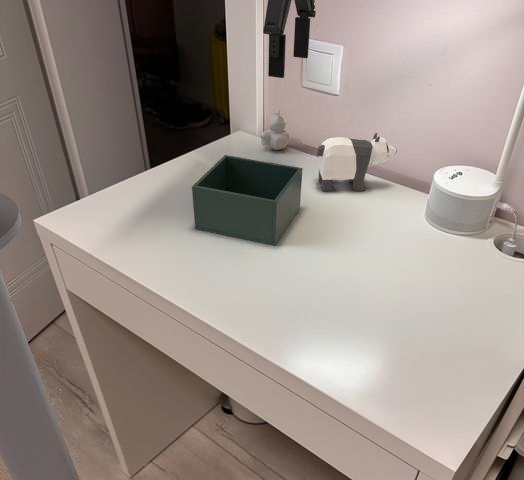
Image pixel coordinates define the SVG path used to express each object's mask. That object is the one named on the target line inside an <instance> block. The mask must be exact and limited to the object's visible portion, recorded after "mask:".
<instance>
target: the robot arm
mask: <svg viewBox="0 0 524 480" xmlns="http://www.w3.org/2000/svg"><path fill="white" fill-rule="evenodd" d="M292 1H294V7H295V10H296V14H297V16H295V18H294V33H293V34H294V35H293V56H292V57H293V58H299V59H308V58H309V50H310V49H309V48H310V47H309V46H310V33H311V32H310V31H311V18H315V17H316V14H317V13H316V10H314V9H316V4H315V5H314V3H316V0H267V3H266V4H267V5H266V11H265V19H264V25H263V28H262V29H263V31H262V33H263V34H264V35H268V68H267V69H268V70H267V71H268V72H267V74H268V75H267V76H268V77H270V78H271V77H272V78H278V79H284V78H285V70H286V69H285V68H286V46H287V45H286V43H287V34H285V30H286V26H287V20H288V17H289V12H290V9H291V4H292Z"/></svg>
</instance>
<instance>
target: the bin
mask: <svg viewBox="0 0 524 480" xmlns="http://www.w3.org/2000/svg"><path fill="white" fill-rule="evenodd" d="M303 170H304V169H303V167H299V166H292V165H287V164H280V163H275V162H270V161H263V160H258V159H252V158H246V157H241V156H240V157H239V156H235V155H234V156H233V155H227V154H224V155H223V156H222V157H221V158H220V159H219V160H218V161H217V162H216V163H215V164H214V165H213V166H211V167H210V169H209V170H207V171H206V172H204V174H203V175H202V176H201V177H200V178H199V179H197V181H196V182H195V183H193V185H191V193H192V194H191V195H192V207H193V219H194V220H193V221H194V229H195V230H200V231H204V232H209V233H214V234H218V235H222V236H227V237H232V238H233V237H234V238H238V239H243V240H246V241H251V242H257V243H261V244H266V245H272V246H276V245H277V244H278V242H279V241H280V239H281V238H282V236H283V235H284V233H286V230H287V229H288V228H289V226H290V224H291V223H292V221H293V220H294V218H295V217H296V216H297V214H298V213H299V211H300V209H301V199H302V198H301V197H302V185H303V184H302V182H303Z"/></svg>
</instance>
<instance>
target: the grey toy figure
mask: <svg viewBox="0 0 524 480" xmlns="http://www.w3.org/2000/svg"><path fill="white" fill-rule="evenodd" d="M286 125H287V122H285V120H284V117H283V116H281V115H280V110H278V111H277V112H275V113H274V114H273V115H272V116H271V118H270V119H269V124H268V128H269V129H267V130H266V131H261V132H260V133H259V137H260V139H261V140H260V145H262V146H268V147H269V148H270V149H272V150H274V151H277V150H278V151H279V150H283V149H285V148H286V147H287V146H288V144H289V142H290V134H289V133H288V132H287V131H286Z"/></svg>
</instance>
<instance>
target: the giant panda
mask: <svg viewBox="0 0 524 480" xmlns="http://www.w3.org/2000/svg"><path fill="white" fill-rule="evenodd" d="M316 151H317V152H316V156H317V157H318V183H319V184H321V187H320V188H321V190H322V191H323V192H333V191H334V192H335V189H336V188H335V186H334V185H333V184H332V183H333V181H334V180H335V181H336V180H337V181H345V180H348V182H349V183H352V190H353V191H356V192H357V191H359V192H360V191H361V192H362V191H363V192H364V191H366V190H367V187H366V185H364V182H365V177H366V174H367V171H368V168H369V167H371V166H375V165H380V164H383V163H384V162H386V161H387V160H388V159H390V158H393V156H395V155H396V154H397V151H398V149H397V148H395V147H393V146H392V145H390V144H388V142H387V140H386V138H384V136H380V135H379V136H378V132H375V133H374V134H373V138H372V140H370V141H369V140H366V139H357V138H349V137H342V136H338V137H330V138H327V139H325V140H324V141H323V142H322V143H321V144H320V145H319V146H318V148H317V150H316Z"/></svg>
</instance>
